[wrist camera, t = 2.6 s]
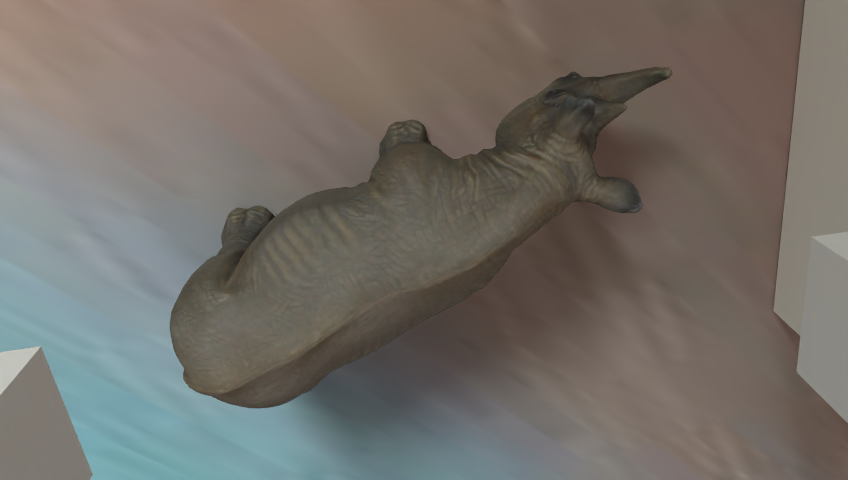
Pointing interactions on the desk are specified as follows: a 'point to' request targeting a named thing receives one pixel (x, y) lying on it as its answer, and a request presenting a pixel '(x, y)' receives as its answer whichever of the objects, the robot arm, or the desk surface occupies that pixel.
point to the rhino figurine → (389, 244)
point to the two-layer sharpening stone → (815, 152)
